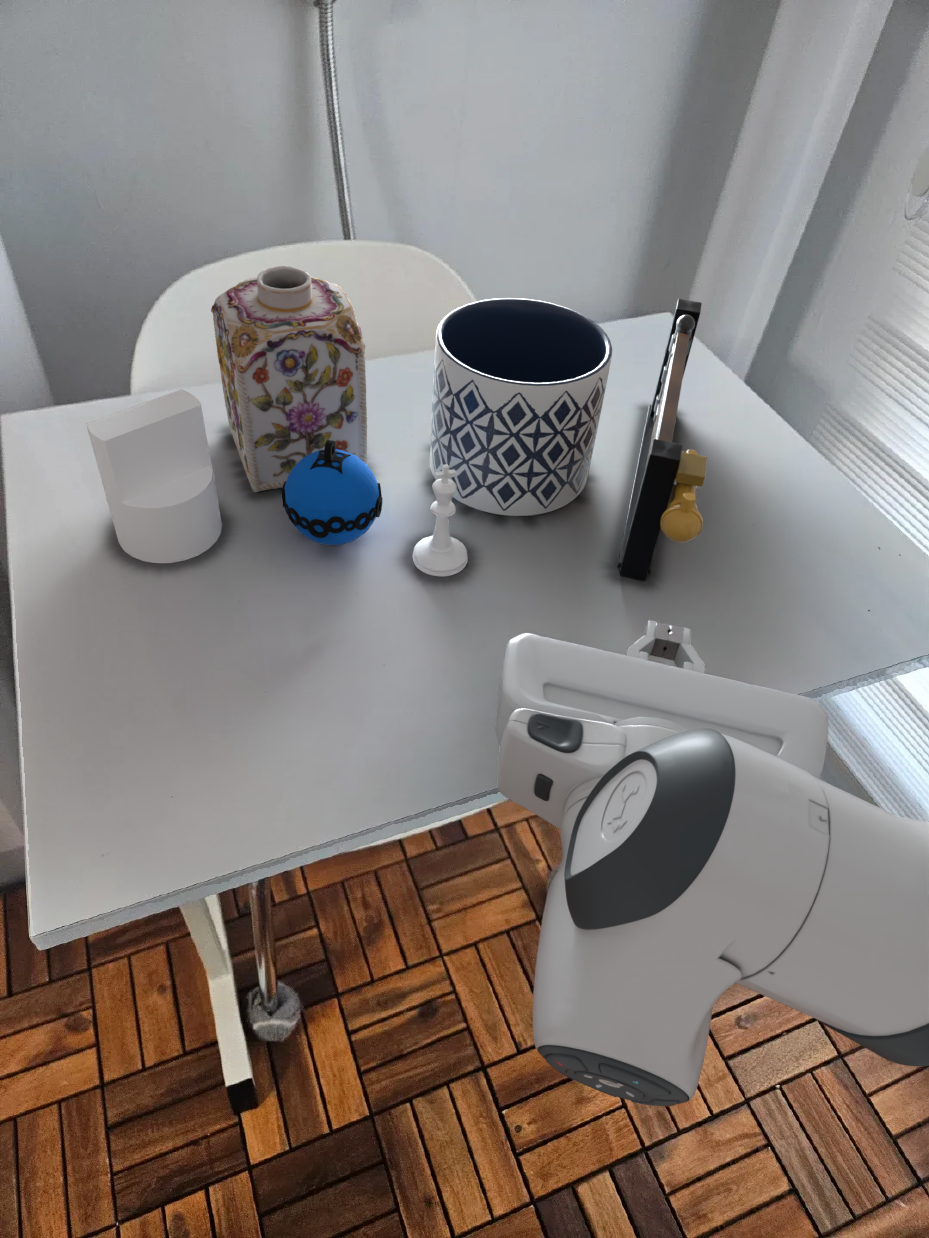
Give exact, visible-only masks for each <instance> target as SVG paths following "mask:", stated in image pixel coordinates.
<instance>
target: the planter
mask: <svg viewBox="0 0 929 1238" xmlns="http://www.w3.org/2000/svg"><path fill="white" fill-rule="evenodd" d="M611 341H612V340H611V339H610V337H609V336H608V334H607V333H606V332H605V330H604V329H603V328H602V327H601V326H600V325H599V324H597V323H596V321H594V320H592V319H590V317H588V316H586V315H584V314H582V313H579V312H578V311H575V310H573V309H571V308H568V307H565V306H562V305H559V304H555V303H552V302H547V301H542V300H538V299H537V300H536V299H529V298H517V297H515V298H514V297H506V298H505V297H504V298H503V297H502V298H489V299H483V300H478V301H474V302H471V303H467V304H464V305H463V306H460V307H457V308H456V309H454V310H452V311H451V312H449V313H448V314H447V315H445V316H444V317H443V318H442V320H441V321H440V322H439V324H438V325H437V329H436V331H435V345H434V364H433V384H432V404H431V406H432V407H431V425H430V426H431V427H430V445H429V446H430V447H429V448H430V450H429V468H430V472H431V474H432V476H433V478H434V481H436V478H435V472H440V471H442V465H445V464H448V466H449V470H453V469H454V470H455V472H456V477H450V478H448V479H450V480H452V481H453V482H455V484H456V486H457V488H456V491H455V493H454V495H453V497H452V499H455V500H456V501H458V502H459V503H461V504H463V505H465V506H468V507H469V508H473V509H475V510H478V511H480V512H486V513H489V514H493V515H499V516H507V517H508V516H510V517H514V516H515V517H526V516H527V517H528V516H536V515H542V514H546V513H549V512H553V511H555V510H558V509H561V508H563V507H565V506H566V505H568V504H570V503H571V502H573V501H574V500H575V499H576V498H577V497H578V496H579V495H580V494H581V492H582V491H583V490H584V489H585V487H586V483H587V482H588V476H589V472H590V467H591V463H592V457H593V453H594V449H595V443H596V438H597V435H598V429H599V428H598V427H599V423H600V418H601V413H602V408H603V404H604V398H605V393H606V389H607V385H608V384H607V383H608V379H609V375H610V369H611V368H610V367H611V362H612V357H613V346H612V342H611ZM437 480H438V479H437Z"/></svg>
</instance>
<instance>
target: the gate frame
mask: <svg viewBox="0 0 929 1238" xmlns="http://www.w3.org/2000/svg"><path fill="white" fill-rule="evenodd" d="M702 304H703V303H702V302H700V301H694V300H688V299H683V298H678V299H677V302H676V306H675V309H674V314H673V318H672V322H671V326H670V330H669V334H668V338H667V343H666V346H665V350H664V354H663V359H662V362H661V367H660V370H659V375H658V378H657V383H656V387H655V391H654V393H653V399H652V403H651V404H649V405H648V407H647V413H646V416H645V417H646V418H645V423H644V428H643V432H642V439H641V444H640V449H639V453H638V457H637V458H638V459H637V463H636V468H635V473H634V477H633V478H634V479H633V483H632V489H631V493H630V499H629V506H628V510H627V515H626V520H625V525H624V530H623V534H622V540H621V546H620V551H619V556H618V559H617V560H618V561H617V565H616V566H617V567H616V568H618V569H619V574H618V575H619V576H620V577H624V578H629V579H634V580H639V581H642V582H646V581H647V577H648V575H651V573H652V568H653V562H654V556H655V550H656V546H657V543H658V539H659V536H660V533H661V530H662V529H661V525H660V522H661V517H662V515H663V513H664V512H665V511H666V510H667V509H668V508H669V506H670V504H671V503H672V502H673V501H674V497H675V490H676V483H677V482H678V483H683V484H688V485H693V486H696V493H695V496H696V497H698V496H697V495H698V488H702V487H704V483H705V479H706V474H707V473H706V471H707V461H708V457H707V456H704V455H700V454H699V455H694V454H689V453H684V452H683V444H682V443H679V442H673V441H672V442H668V441H663V440H658V439H653V440H652V444H651V448H650V442H651V437H652V432H653V427H654V421H653V418H654V414H655V412H654V406H655V402H656V398H657V396H658V395H659V394H660V390H661V386H662V382H661V378H662V374H663V370H664V367H665V366H666V365H667V362H668V358H669V354H670V352H669V346H670V342H671V338H672V335H673V334H675V331H676V322H677V320H678V318H679V317H680V316H682V315H690V316H692V317H693V318H694V321H695V326H694V328H693V330H692V333H691V338H692V341H691V345H690V349H689V353H688V355H686V361H685V367H684V373H683V377H684V375H685V371H686V367H687V365H688V361H689V357H690V353H691V349H692V346H693V342H694V339H695V334H696V331H697V328H698V323H699V321H700V316H701V311H702ZM683 379H684V378H683ZM683 379H682V381H683ZM649 448H650V452H649ZM648 453H649V456H648ZM647 458H648V460H647ZM646 463H647V464H646ZM697 487H698V488H697ZM695 503H696V504H697V500H696V501H695Z"/></svg>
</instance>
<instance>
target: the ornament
mask: <svg viewBox="0 0 929 1238" xmlns="http://www.w3.org/2000/svg"><path fill="white" fill-rule="evenodd" d="M280 489H281V493H280V494H281V495H280V496H281V502H282V508H284V511H285V513H286V515H287V518H288V519H289V521H290V523H291V524H292V525H293V527H295V529H296V531H298V532H299V533H300V534H301V535H302V536H304V537H305V538H307V539H309V540H310V541H312V542H315V543H317V544H320V545H321V544H322V545H326V546H339V545H345V544H348V543H351V542H354V541H355V540H357V539H359V538H360V537H361V536H363V535H364V534H365V533H366V532H367V531H369V529H370V528H371V526H372V525H373V524H374V522H375V520H376V518H380V516H381V514H382V510H383V496H382V487H381V483H380V482H378V481H377V478H376V475H375V474H374V472H373V470H371V467H369V465H368V463H367V464H366V463H365V462H363V461H362V460H361V459H360V458H358V457H357V456H355V455H353V454H351V453H348V452H346V451H343V450H338V449H336V443H335V441H333V440H327V441H326V444H325V448H324V450H319V451H316V452H314V453H311V454H309V455H307V456H305V457H304V458H302V459H301V460H300V461H299V462H298V463H297V464H296V465H295V466H294V467H293V469H292V470H291V472H290V474H289V475H288V478H287V481H285V482H284V484H283V487H282V488H280Z"/></svg>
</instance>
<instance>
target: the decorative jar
mask: <svg viewBox="0 0 929 1238" xmlns="http://www.w3.org/2000/svg"><path fill="white" fill-rule="evenodd" d="M210 312H211V313H212V319H213V320H212V321H213V329H214V337H215V346H216V352H217V359H218V364H219V371H220V378H221V386H222V392H223V399H224V405H225V408H226V409H225V410H226V415H227V420H228V426H229V430H230V433H231V436H232V438H233V441H234V444H235V447H236V450H237V452H238V455H239V458H240V461H241V463H242V466H243V469H244V471H245V474H246V477H247V479H248V482H249V484H250V488H251V491H252V492H254V493H259V492H263V491H268V490H273V489H275V490H276V489H282V487H283V484H284V482H285V481H287V478H288V475H289V474H290V472H291V470H292V469H293V467H294V466H295V465H296V464H297V463H298V462H299V461H300V460H301V459H302V458H304V457H305V456H307V455H309V454H311V453H314V452H316V451H319V450H324V448H325V444H326V441H327V440H333V441H335V443H336V449H338V450H343V451H346V452H348V453H351V454H353V455H355V456H357V457H358V458H360V459H361V460H362V461H363V462H365V463H366V464H367V465H368V405H367V404H368V403H367V376H366V372H367V371H366V344H365V341H364V339H363V332H362V329H361V327H360V325H359V324H358V319H357V315H356V312H355V309H354V306H353V303H352V302H351V300H350V298H349V296H348V294H347V292H345V291H344V289H342V287H341V286H340V285H339V284H336V283H333V282H331V281H327V280H324V279H321V278H318V277H315V276H311V275H310V273H308V272H307V271H306V270H303V269H301V268H298V267H294V266H289V265H279V266H273V267H270V268H269V267H268V268H266V269H264V270H261V271H260V272H259V273H258V274H257V276H254V277H248V278H247V279H245V280H243V281H241V282H239V283H238V284H236V285H234V286H232V287H230V288H228V289H227V290H225V292H223V293H221V294H219V295H218V296H217V297H216V298H215V301H214V304H212V306H211V308H210Z"/></svg>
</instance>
